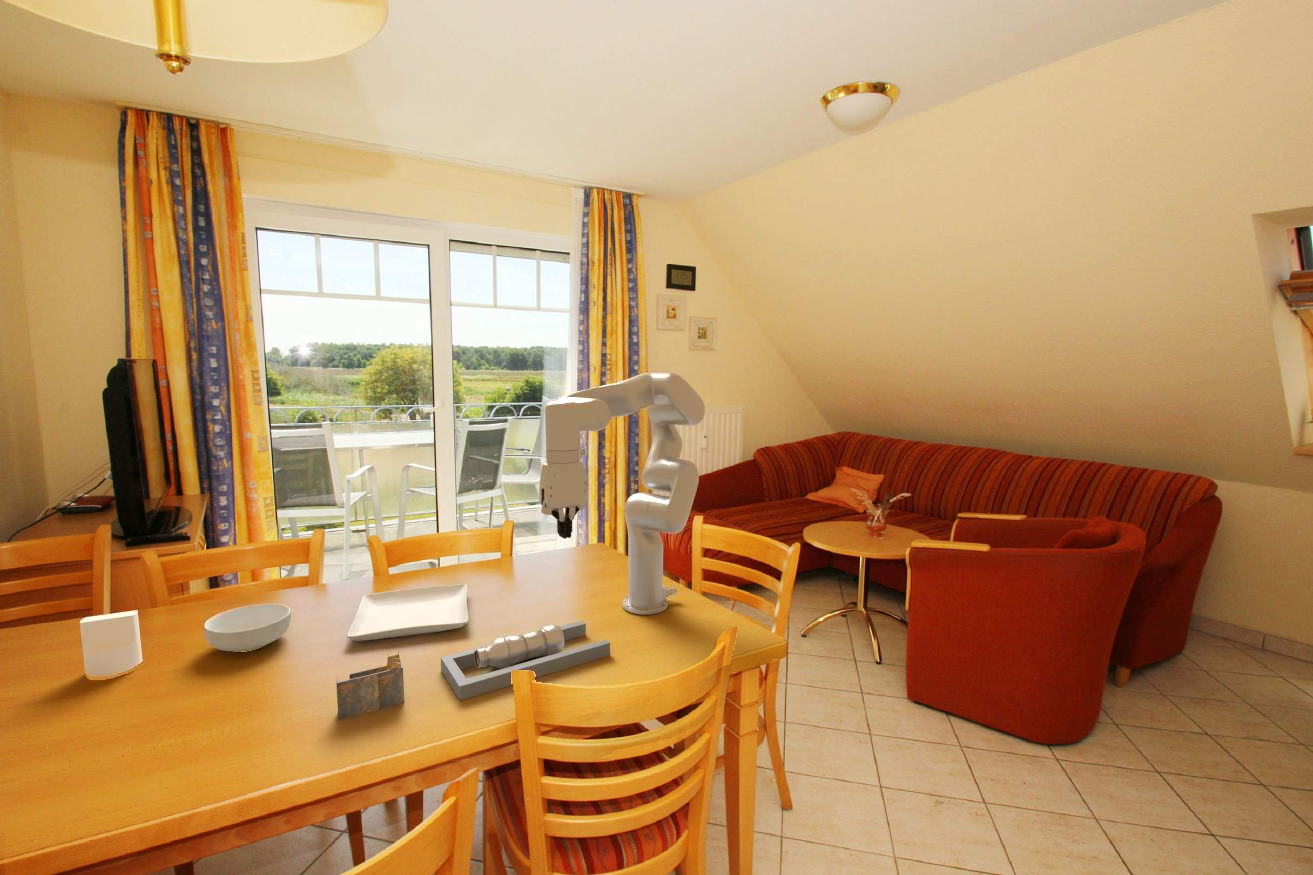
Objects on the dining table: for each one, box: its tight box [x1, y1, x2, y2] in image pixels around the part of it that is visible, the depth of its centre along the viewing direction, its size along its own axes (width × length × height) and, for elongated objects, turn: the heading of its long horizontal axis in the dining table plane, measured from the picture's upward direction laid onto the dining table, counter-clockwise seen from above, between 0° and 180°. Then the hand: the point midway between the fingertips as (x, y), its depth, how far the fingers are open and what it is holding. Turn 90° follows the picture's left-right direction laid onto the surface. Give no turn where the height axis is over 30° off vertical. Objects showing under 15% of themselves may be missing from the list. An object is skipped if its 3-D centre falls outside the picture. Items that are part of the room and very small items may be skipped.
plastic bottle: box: [474, 624, 566, 670], centre depth 132 cm, size 6×7×20 cm
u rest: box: [440, 620, 611, 701], centre depth 131 cm, size 34×14×3 cm, turn 124°
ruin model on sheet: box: [335, 651, 405, 721], centre depth 113 cm, size 11×3×10 cm, turn 121°
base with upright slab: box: [79, 609, 143, 677], centre depth 126 cm, size 9×9×12 cm
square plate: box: [346, 583, 470, 642], centre depth 154 cm, size 27×27×4 cm
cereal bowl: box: [203, 602, 292, 652], centre depth 138 cm, size 17×17×7 cm
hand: (564, 536), depth 134 cm, fingers closed
